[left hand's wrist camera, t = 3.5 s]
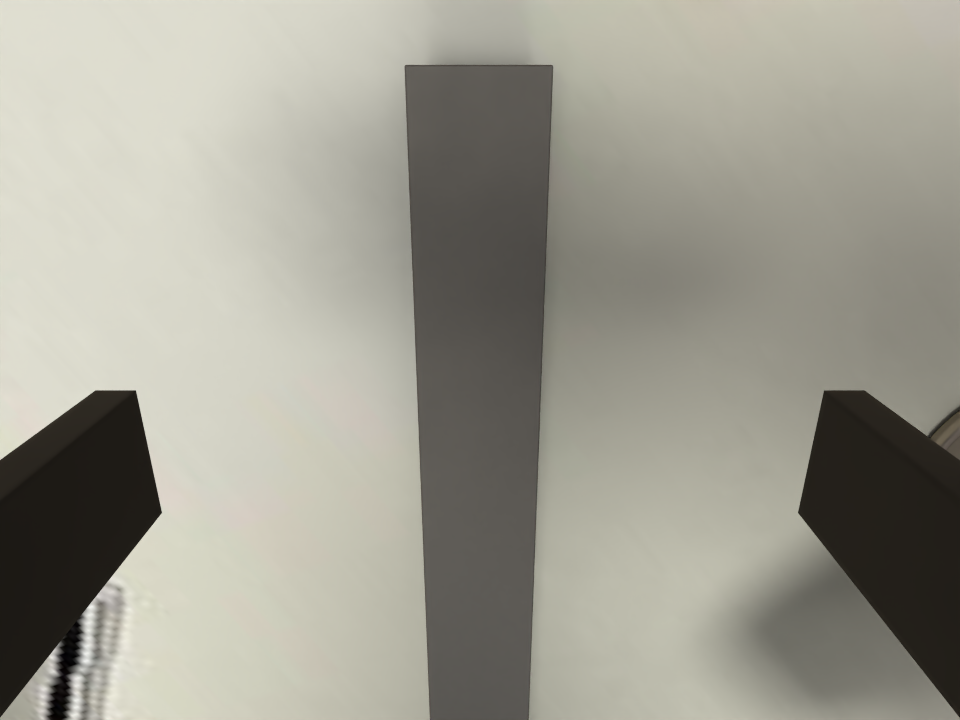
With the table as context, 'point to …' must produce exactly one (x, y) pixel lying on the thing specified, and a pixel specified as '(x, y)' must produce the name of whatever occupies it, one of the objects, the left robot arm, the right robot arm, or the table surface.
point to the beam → (479, 370)
